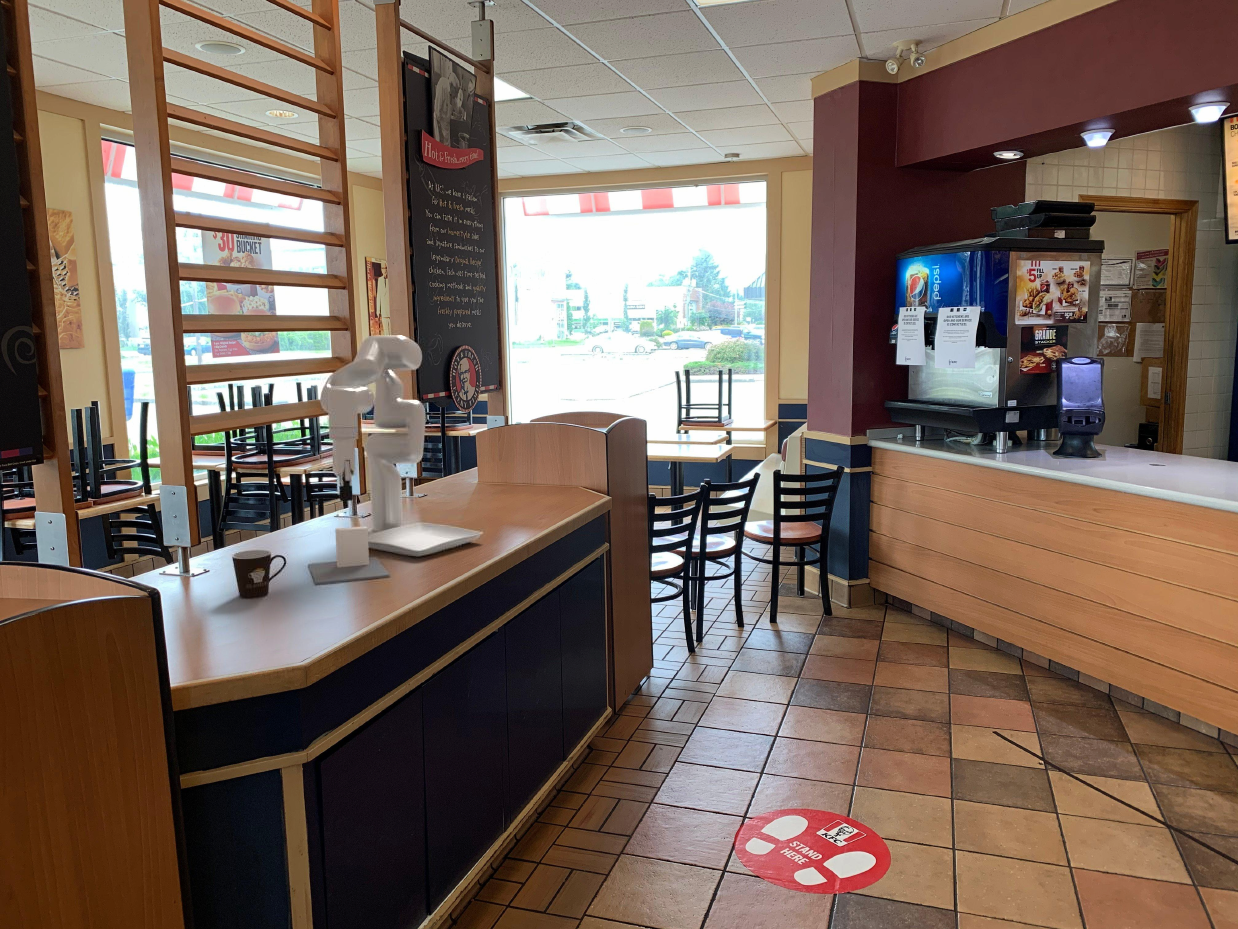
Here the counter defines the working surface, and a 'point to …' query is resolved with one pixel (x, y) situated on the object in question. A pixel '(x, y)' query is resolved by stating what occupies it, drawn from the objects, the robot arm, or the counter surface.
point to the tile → (352, 546)
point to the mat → (346, 572)
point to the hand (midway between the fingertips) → (346, 500)
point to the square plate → (420, 539)
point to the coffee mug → (254, 572)
